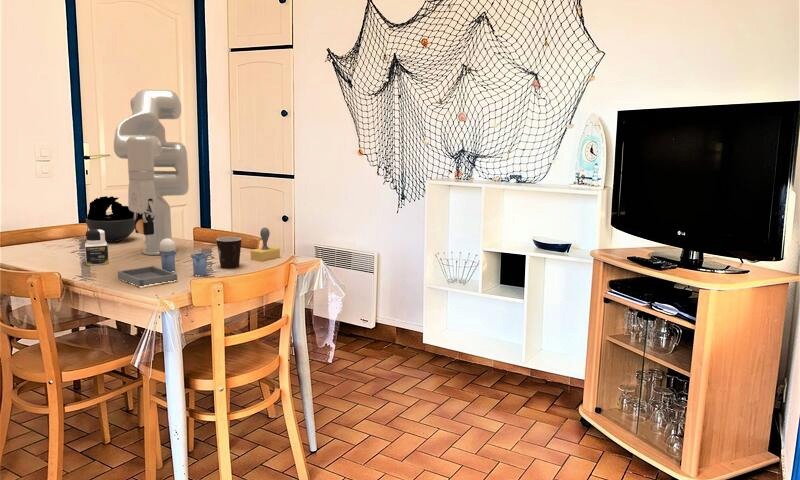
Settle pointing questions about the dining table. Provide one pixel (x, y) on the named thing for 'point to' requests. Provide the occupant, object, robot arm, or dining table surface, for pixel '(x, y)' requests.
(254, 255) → the rubber stamp
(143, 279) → the tray
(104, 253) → the medicine bottle
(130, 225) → the coal bowl
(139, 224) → the ball
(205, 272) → the cup
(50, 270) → the dining table surface
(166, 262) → the cup
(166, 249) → the ball
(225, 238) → the coffee mug
